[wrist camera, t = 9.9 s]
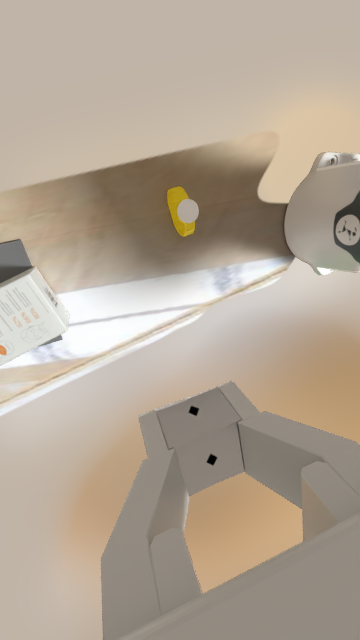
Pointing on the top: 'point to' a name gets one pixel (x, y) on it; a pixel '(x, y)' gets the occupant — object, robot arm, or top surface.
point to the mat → (15, 265)
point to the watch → (182, 210)
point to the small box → (28, 314)
